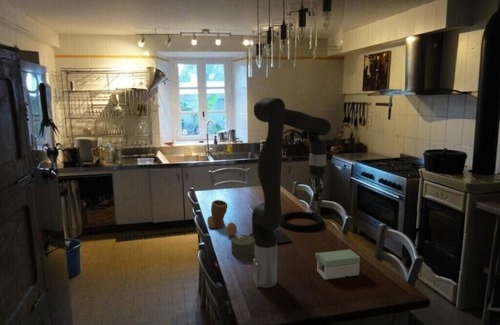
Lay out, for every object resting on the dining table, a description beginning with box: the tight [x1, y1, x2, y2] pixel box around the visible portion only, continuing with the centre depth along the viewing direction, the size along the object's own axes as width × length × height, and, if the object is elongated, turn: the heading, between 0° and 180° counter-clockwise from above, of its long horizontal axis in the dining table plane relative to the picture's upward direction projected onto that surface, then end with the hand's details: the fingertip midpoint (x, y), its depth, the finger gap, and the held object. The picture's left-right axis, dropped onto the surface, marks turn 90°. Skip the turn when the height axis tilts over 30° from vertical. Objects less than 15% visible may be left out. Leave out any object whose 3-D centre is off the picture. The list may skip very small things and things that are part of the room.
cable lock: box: [279, 211, 325, 232], centre depth 216 cm, size 28×4×30 cm
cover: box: [314, 248, 361, 267], centre depth 154 cm, size 17×9×2 cm, turn 104°
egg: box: [225, 221, 238, 237], centre depth 194 cm, size 6×6×8 cm
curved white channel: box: [316, 259, 361, 280], centre depth 154 cm, size 16×8×6 cm, turn 104°
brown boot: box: [206, 199, 228, 229], centre depth 211 cm, size 15×12×15 cm
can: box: [230, 234, 255, 259], centre depth 174 cm, size 12×12×7 cm
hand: (316, 200), depth 161 cm, fingers closed
